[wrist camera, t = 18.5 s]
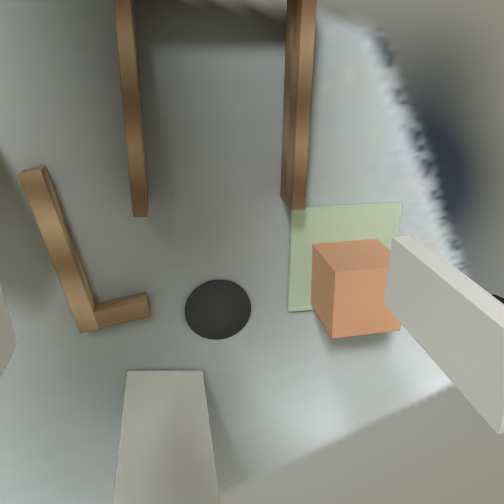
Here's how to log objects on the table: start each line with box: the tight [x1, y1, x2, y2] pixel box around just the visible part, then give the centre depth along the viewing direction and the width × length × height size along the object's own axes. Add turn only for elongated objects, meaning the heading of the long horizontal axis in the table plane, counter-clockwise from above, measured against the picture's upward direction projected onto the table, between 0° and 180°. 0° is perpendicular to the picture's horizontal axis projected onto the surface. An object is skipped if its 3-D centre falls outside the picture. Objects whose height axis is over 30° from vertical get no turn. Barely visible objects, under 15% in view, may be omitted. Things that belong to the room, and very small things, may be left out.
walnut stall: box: [114, 0, 317, 217], centre depth 34 cm, size 16×13×4 cm
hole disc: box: [185, 280, 251, 339], centre depth 43 cm, size 6×6×1 cm
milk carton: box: [113, 370, 220, 504], centre depth 37 cm, size 7×7×19 cm
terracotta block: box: [311, 239, 401, 339], centre depth 40 cm, size 6×6×6 cm
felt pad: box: [287, 202, 402, 312], centre depth 43 cm, size 10×10×1 cm
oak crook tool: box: [18, 166, 150, 334], centre depth 38 cm, size 14×6×2 cm, turn 10°
